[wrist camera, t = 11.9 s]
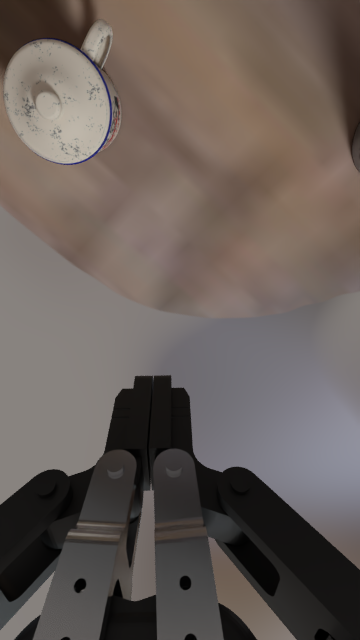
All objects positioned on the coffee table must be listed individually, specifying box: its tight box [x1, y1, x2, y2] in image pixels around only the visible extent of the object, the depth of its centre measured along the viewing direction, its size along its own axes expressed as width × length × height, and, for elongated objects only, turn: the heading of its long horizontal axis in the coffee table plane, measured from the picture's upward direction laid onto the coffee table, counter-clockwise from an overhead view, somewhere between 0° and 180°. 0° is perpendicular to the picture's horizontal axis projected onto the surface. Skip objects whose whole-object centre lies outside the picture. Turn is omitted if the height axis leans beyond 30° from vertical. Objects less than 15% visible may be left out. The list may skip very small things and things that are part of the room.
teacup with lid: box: [3, 19, 121, 165], centre depth 30 cm, size 12×9×12 cm
